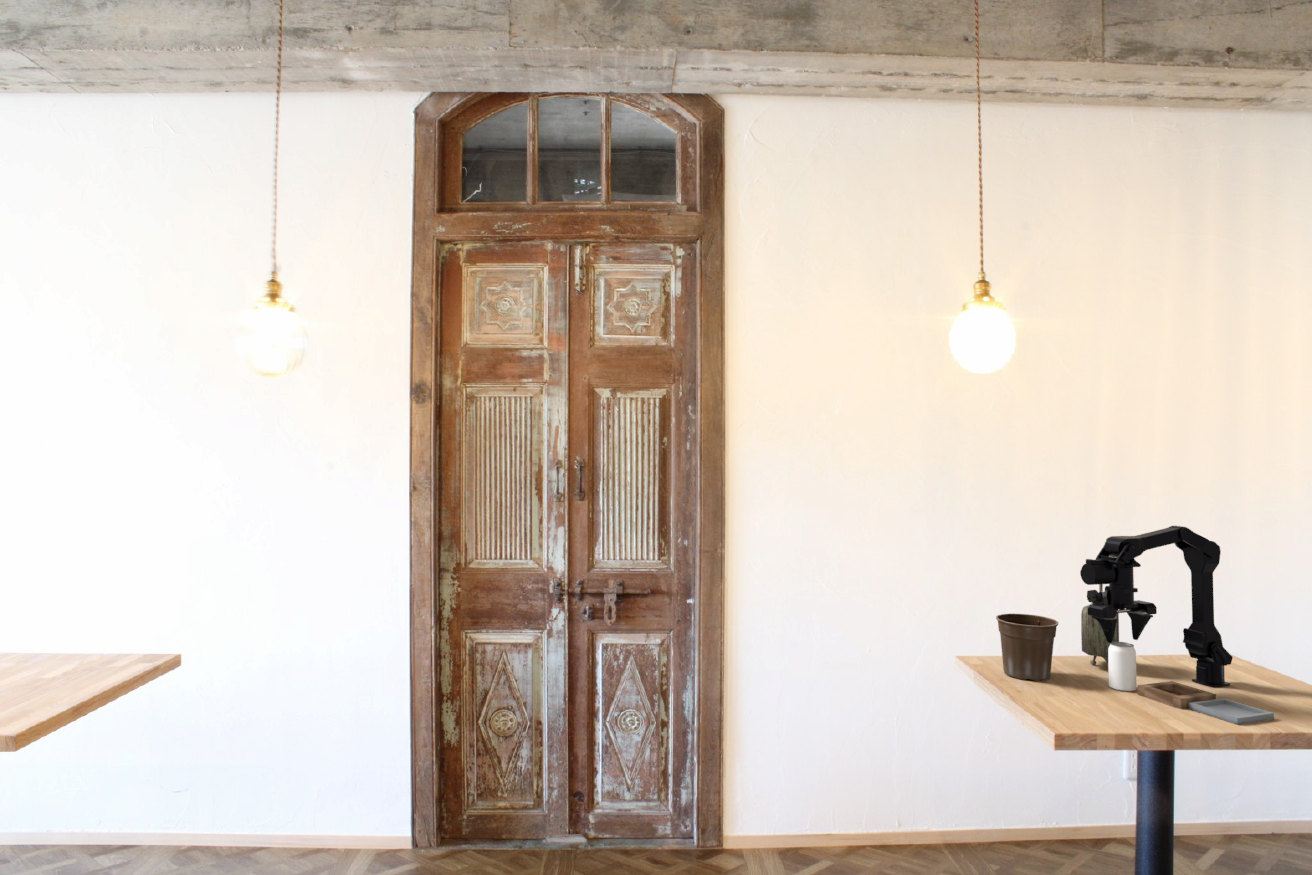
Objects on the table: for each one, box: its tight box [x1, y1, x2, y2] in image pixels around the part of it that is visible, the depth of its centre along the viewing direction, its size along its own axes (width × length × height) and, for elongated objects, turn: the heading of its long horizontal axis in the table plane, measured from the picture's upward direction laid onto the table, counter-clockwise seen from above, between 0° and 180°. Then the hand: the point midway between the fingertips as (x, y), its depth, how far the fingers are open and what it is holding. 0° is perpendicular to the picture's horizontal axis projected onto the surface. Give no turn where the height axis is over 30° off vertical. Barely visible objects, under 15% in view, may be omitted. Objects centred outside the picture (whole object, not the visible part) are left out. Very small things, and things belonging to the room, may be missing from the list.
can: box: [1107, 641, 1138, 693], centre depth 210 cm, size 6×6×12 cm
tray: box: [1188, 697, 1275, 726], centre depth 189 cm, size 12×12×2 cm
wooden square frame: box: [1137, 680, 1217, 710], centre depth 200 cm, size 12×12×2 cm
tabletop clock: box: [1080, 584, 1120, 670], centre depth 232 cm, size 14×9×25 cm, turn 147°
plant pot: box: [995, 613, 1059, 682], centre depth 222 cm, size 16×16×16 cm
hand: (1122, 641), depth 209 cm, fingers open, 9 cm apart
